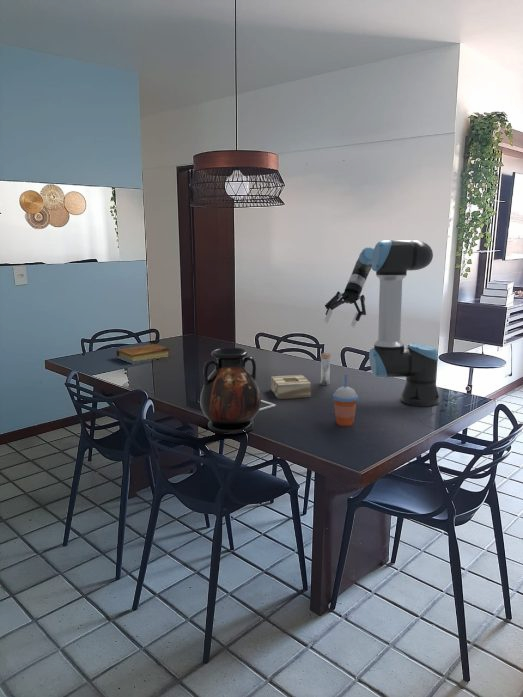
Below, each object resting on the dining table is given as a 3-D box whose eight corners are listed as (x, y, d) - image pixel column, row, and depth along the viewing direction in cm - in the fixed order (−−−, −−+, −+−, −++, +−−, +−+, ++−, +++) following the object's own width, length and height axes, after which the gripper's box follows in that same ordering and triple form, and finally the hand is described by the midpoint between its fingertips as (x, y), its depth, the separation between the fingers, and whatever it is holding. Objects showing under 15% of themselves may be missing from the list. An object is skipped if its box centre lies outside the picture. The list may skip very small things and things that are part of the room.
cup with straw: (354, 418, 201) (356, 372, 197) (359, 427, 192) (361, 378, 188) (330, 419, 200) (331, 372, 197) (334, 427, 191) (335, 378, 188)
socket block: (310, 396, 228) (310, 383, 227) (278, 398, 226) (278, 385, 224) (302, 387, 242) (302, 374, 240) (271, 389, 239) (271, 376, 238)
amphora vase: (249, 414, 206) (248, 342, 200) (270, 433, 186) (270, 354, 180) (194, 422, 198) (191, 347, 193) (210, 442, 179) (208, 360, 173)
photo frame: (246, 394, 229) (275, 404, 216) (246, 397, 230) (275, 406, 217) (219, 402, 220) (248, 412, 207) (219, 404, 220) (248, 415, 207)
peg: (330, 384, 246) (331, 354, 243) (322, 385, 245) (322, 355, 242) (328, 382, 250) (328, 352, 247) (319, 382, 249) (319, 353, 246)
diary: (153, 353, 316) (152, 343, 315) (170, 358, 302) (169, 348, 301) (116, 359, 301) (116, 349, 300) (132, 365, 287) (132, 354, 286)
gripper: (381, 293, 251) (366, 332, 244) (333, 287, 265) (317, 324, 258) (377, 284, 245) (362, 323, 238) (328, 278, 259) (312, 315, 252)
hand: (339, 324), depth 248 cm, fingers open, 13 cm apart
